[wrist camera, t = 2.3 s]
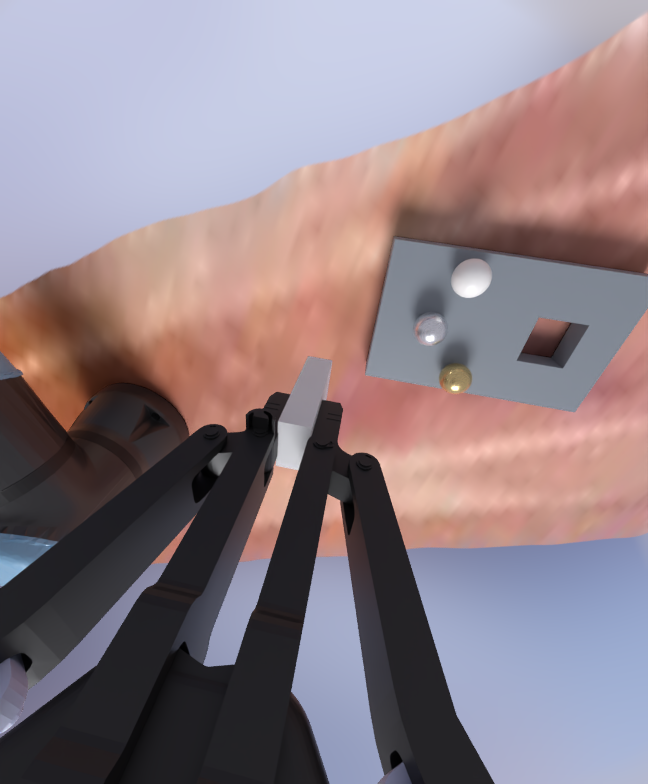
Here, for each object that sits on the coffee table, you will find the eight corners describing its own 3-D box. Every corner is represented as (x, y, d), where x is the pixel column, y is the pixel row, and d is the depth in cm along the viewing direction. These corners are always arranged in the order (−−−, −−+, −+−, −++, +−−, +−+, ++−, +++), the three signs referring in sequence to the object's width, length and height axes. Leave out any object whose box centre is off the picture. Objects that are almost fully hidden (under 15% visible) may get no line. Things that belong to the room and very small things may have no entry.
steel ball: (407, 335, 32) (410, 348, 29) (416, 305, 30) (420, 315, 27) (438, 341, 32) (444, 354, 29) (449, 310, 30) (456, 321, 27)
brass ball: (432, 381, 34) (437, 396, 31) (442, 355, 32) (447, 369, 30) (461, 386, 34) (468, 402, 31) (472, 360, 32) (481, 375, 30)
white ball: (443, 289, 29) (449, 299, 26) (455, 253, 27) (463, 259, 25) (477, 295, 29) (487, 305, 26) (491, 258, 27) (504, 265, 24)
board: (365, 365, 37) (365, 375, 35) (394, 236, 29) (395, 239, 27) (563, 399, 36) (574, 412, 34) (646, 273, 28) (667, 279, 26)
